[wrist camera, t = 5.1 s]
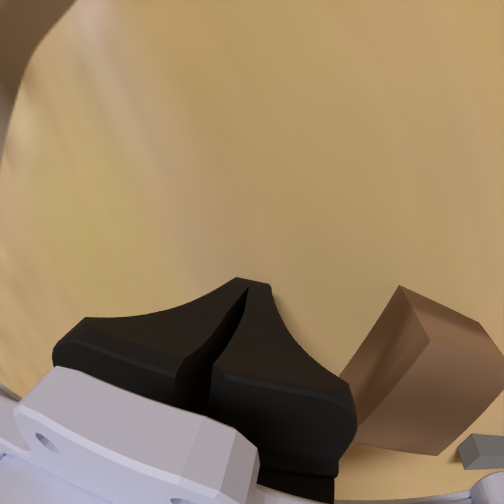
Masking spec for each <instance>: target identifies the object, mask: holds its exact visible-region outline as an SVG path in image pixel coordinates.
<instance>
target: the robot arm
mask: <svg viewBox="0 0 504 504" xmlns="http://www.w3.org/2000/svg"><path fill="white" fill-rule="evenodd" d="M52 360H53V366H54V368H53V369H51V370H50V371H48V372H47V373H46V374H45V375H44V376H43V377H42V378H41V379H40V380H39V381H38V382H37V383H36V384H35V385H34V387H33V388H32V389H31V390H30V391H29V392H28V393H27V394H26V395H25V396H24V397H23V398H21V397H20V396H18V395H17V394H15V393H14V392H12V391H11V390H10V389H8V388H7V387H5V386H4V385H3V384H1V383H0V504H504V471H500V472H496V473H492V474H489V475H487V476H485V477H483V478H482V479H480V480H479V481H478V482H477V483H476V484H475V485H474V486H473V487H472V488H471V489H470V490H467V491H462V492H456V493H450V494H444V495H437V496H429V497H420V498H409V499H395V500H334V478H336V477H337V476H338V472H339V464H338V461H339V460H340V458H341V457H342V455H343V454H344V453H345V451H346V450H347V448H348V447H349V445H350V444H351V442H352V441H353V439H354V437H355V435H356V432H357V413H356V407H355V403H354V400H353V396H352V393H351V390H350V387H349V384H348V383H347V382H345V381H344V380H342V379H341V378H339V377H337V376H336V375H334V374H333V373H331V372H330V371H328V370H327V369H325V368H324V367H323V366H321V365H320V364H319V363H318V362H316V361H315V360H314V359H313V358H312V357H311V356H310V355H308V354H307V353H306V352H305V351H304V350H303V348H302V347H301V346H300V345H299V344H298V343H297V342H296V341H295V340H294V338H293V337H292V335H291V334H290V333H289V331H288V329H287V328H286V326H285V324H284V322H283V321H282V319H281V317H280V314H279V312H278V310H277V307H276V305H275V302H274V299H273V296H272V290H271V286H270V285H269V284H267V283H262V282H257V281H252V280H248V279H243V278H238V277H236V278H234V279H232V280H230V281H229V282H227V283H226V284H224V285H222V286H221V287H219V288H217V289H216V290H214V291H212V292H210V293H208V294H206V295H204V296H202V297H200V298H198V299H196V300H194V301H191V302H189V303H186V304H184V305H181V306H178V307H175V308H172V309H168V310H164V311H159V312H155V313H150V314H145V315H138V316H130V317H115V318H97V317H85V318H84V319H83V320H81V321H80V322H79V323H78V324H77V325H76V326H75V327H74V328H73V329H71V330H70V331H69V332H68V333H67V334H66V335H65V336H64V337H63V338H62V339H60V340H59V341H58V342H57V344H56V345H55V347H54V348H53V353H52Z"/></svg>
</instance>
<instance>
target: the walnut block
mask: <svg viewBox="0 0 504 504" xmlns="http://www.w3.org/2000/svg"><path fill="white" fill-rule="evenodd" d="M340 378H341V379H342V380H344V381H345V382H347V383H348V384H349V387H350V390H351V393H352V396H353V400H354V403H355V407H356V413H357V432H356V435H355V437H354V439H353V441H352V442H353V443H358V444H363V445H368V446H373V447H378V448H384V449H389V450H395V451H402V452H408V453H415V454H423V455H432V456H438V455H439V454H440V453H441V452H442V451H443V450H445V449H446V448H447V447H448V446H449V445H450V444H451V443H452V442H454V441H455V440H456V439H457V438H458V437H459V436H460V435H461V434H462V433H463V432H464V431H465V430H466V429H467V428H468V427H469V426H470V425H471V424H472V423H473V422H474V421H475V420H476V419H477V418H478V417H479V416H480V415H481V414H482V413H483V412H484V411H485V410H486V409H487V408H488V407H489V406H490V404H491V403H492V402H493V401H494V400H495V399H496V398H497V397H498V395H499V394H500V393H501V392H502V391H503V390H504V356H503V354H502V353H501V351H500V350H499V349H498V347H497V346H496V345H495V343H494V342H493V340H492V339H491V338H490V336H489V335H488V334H487V332H486V331H485V330H484V329H483V327H482V326H481V325H480V323H479V322H477V321H475V320H472V319H470V318H468V317H466V316H464V315H462V314H460V313H458V312H456V311H454V310H452V309H450V308H448V307H445V306H443V305H441V304H439V303H437V302H435V301H433V300H431V299H428V298H426V297H424V296H422V295H420V294H418V293H416V292H413V291H411V290H409V289H407V288H405V287H403V286H400V285H399V286H398V288H397V289H396V291H395V293H394V294H393V296H392V298H391V299H390V301H389V303H388V304H387V306H386V308H385V309H384V311H383V312H382V314H381V316H380V317H379V319H378V320H377V322H376V323H375V325H374V326H373V328H372V329H371V331H370V333H369V334H368V336H367V337H366V339H365V340H364V341H363V343H362V344H361V346H360V347H359V349H358V350H357V352H356V353H355V355H354V356H353V357H352V359H351V360H350V362H349V363H348V364H347V366H346V367H345V368H344V370H343V371H342V373H341V374H340Z"/></svg>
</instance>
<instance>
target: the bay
mask: <svg viewBox="0 0 504 504" xmlns="http://www.w3.org/2000/svg"><path fill="white" fill-rule="evenodd" d="M458 451H459V455H460V458H461V461H462V464H463V467H464V470H477V469H499V468H504V437H503V436H489V435H478V434H471V435H470V436H469V437H468V438H467V439H466V440H465V441H464V442H463V443H462V444H461V445H460V446H459V447H458Z"/></svg>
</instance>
